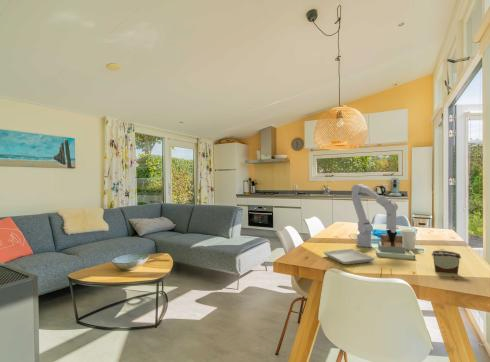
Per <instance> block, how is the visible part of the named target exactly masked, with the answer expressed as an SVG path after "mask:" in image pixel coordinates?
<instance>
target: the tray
mask: <svg viewBox="0 0 490 362" xmlns="http://www.w3.org/2000/svg"><path fill="white" fill-rule="evenodd" d="M375 254H376V256H377V257H378V258H388V259H389V258H391V259H401V260H413V261H415V260H416V255H415V253H414V252H413V250H409V251H408V252H405V253H396V252H383V251H380V250H379V248H378V247H376V248H375Z"/></svg>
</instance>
